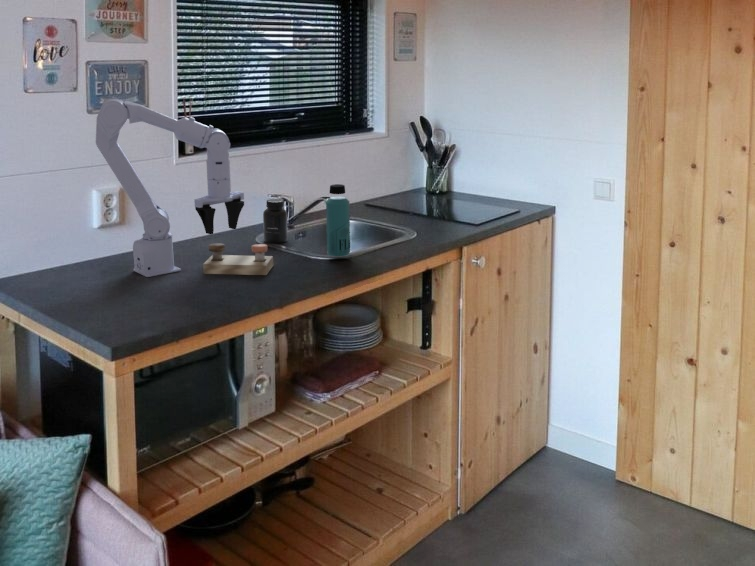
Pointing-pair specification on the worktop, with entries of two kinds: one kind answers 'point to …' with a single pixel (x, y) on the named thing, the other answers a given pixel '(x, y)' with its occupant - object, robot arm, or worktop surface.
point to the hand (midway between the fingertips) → (221, 231)
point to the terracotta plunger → (259, 251)
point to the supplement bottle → (275, 222)
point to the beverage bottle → (338, 223)
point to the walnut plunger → (217, 250)
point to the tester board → (238, 265)
